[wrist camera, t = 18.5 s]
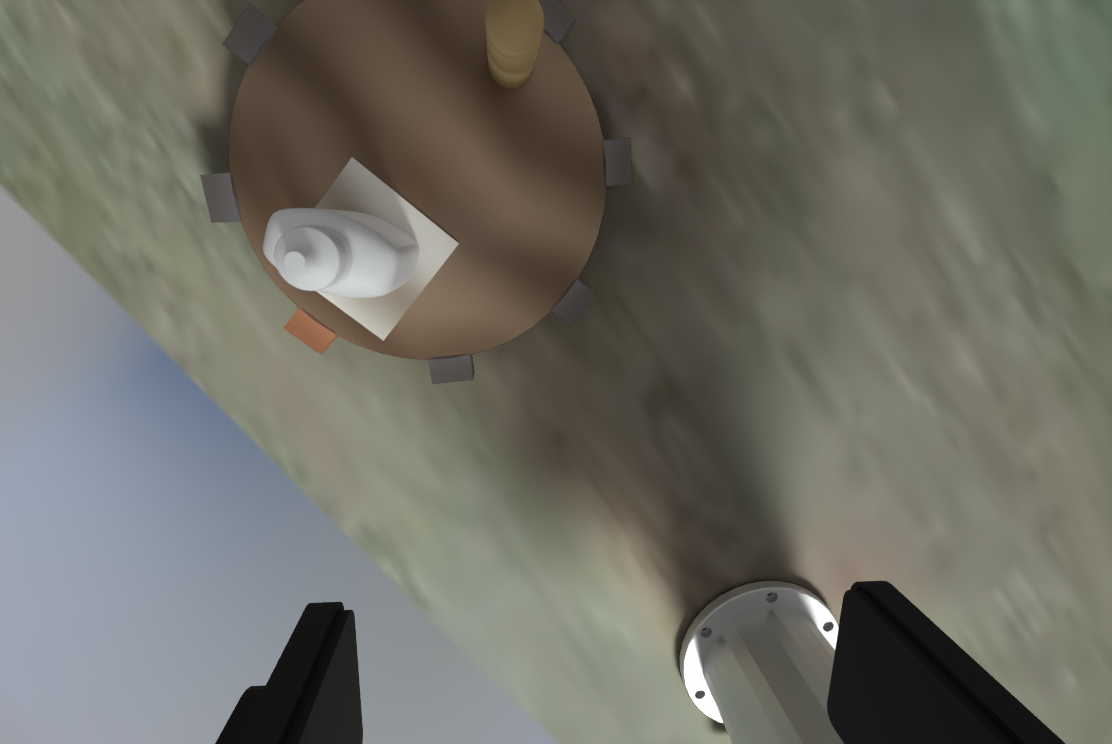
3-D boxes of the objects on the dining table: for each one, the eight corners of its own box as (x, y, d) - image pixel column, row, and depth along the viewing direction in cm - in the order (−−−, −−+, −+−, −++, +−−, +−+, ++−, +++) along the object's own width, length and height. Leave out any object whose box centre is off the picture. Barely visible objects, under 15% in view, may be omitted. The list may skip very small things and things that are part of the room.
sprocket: (379, -157, 29) (332, -310, 21) (703, 156, 34) (770, 135, 26) (132, 208, 32) (3, 203, 24) (465, 445, 37) (455, 510, 29)
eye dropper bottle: (357, 178, 31) (275, 153, 20) (433, 258, 33) (398, 278, 21) (299, 235, 32) (186, 243, 20) (377, 311, 33) (312, 360, 21)
